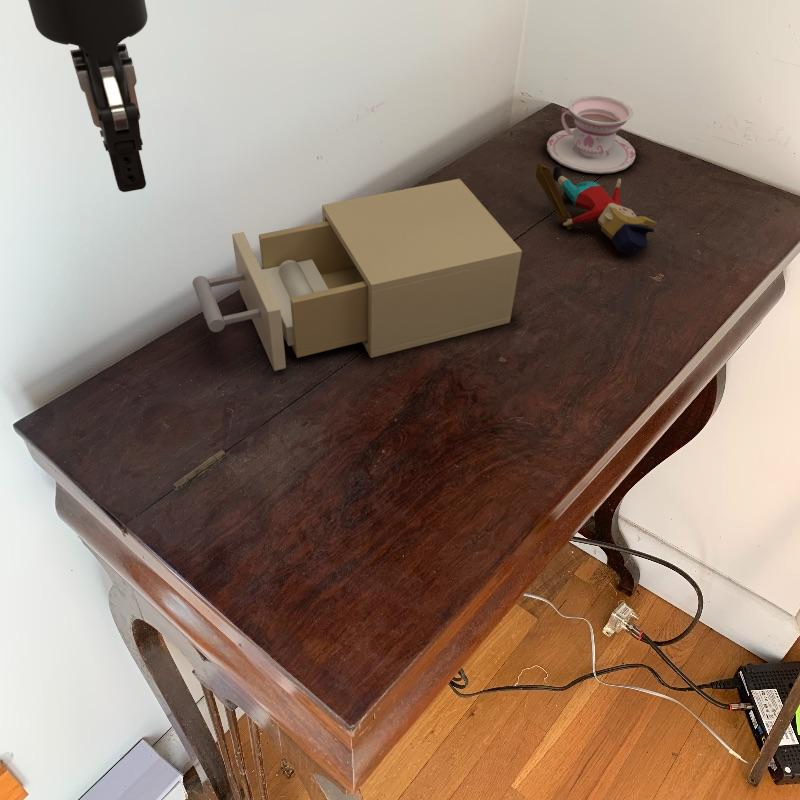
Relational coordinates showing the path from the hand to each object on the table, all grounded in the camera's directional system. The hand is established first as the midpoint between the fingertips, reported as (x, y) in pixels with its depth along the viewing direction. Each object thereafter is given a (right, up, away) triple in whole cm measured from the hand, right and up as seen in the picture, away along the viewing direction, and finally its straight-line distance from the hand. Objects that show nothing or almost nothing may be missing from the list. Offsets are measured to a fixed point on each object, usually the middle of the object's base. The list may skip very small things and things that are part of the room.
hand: (131, 186), depth 65 cm
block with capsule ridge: (+12, -8, +16) cm, 22 cm away
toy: (+45, +3, +31) cm, 55 cm away
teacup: (+48, +16, +44) cm, 67 cm away
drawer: (+12, -9, +17) cm, 22 cm away
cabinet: (+23, -7, +21) cm, 32 cm away
